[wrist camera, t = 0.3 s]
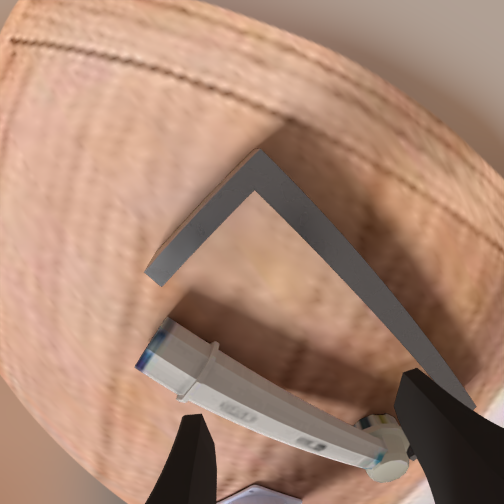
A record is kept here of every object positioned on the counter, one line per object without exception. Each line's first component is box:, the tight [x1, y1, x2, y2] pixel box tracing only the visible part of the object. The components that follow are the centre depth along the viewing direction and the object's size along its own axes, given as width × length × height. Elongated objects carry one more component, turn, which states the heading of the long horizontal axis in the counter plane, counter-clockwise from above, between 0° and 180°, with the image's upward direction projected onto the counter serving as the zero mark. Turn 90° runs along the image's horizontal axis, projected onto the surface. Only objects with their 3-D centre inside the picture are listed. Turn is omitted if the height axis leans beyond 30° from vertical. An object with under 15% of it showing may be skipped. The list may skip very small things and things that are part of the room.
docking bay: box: [144, 149, 476, 461], centre depth 21 cm, size 8×31×3 cm, turn 45°
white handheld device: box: [135, 316, 410, 483], centre depth 22 cm, size 5×7×25 cm
